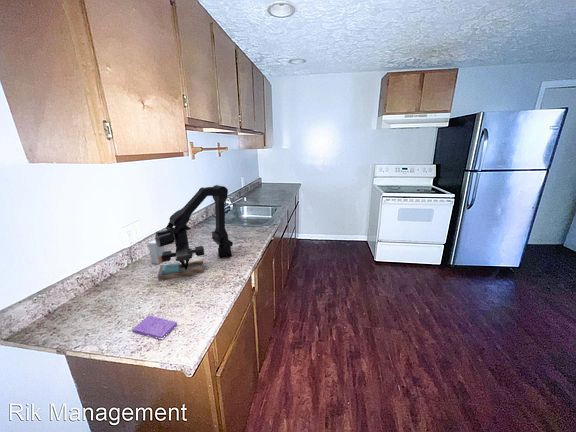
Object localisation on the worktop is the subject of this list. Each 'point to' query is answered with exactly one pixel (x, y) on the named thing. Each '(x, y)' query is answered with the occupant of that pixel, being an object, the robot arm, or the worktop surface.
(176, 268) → the block
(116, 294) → the worktop surface
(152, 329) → the sponges
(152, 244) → the skincare box
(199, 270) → the guide channel
